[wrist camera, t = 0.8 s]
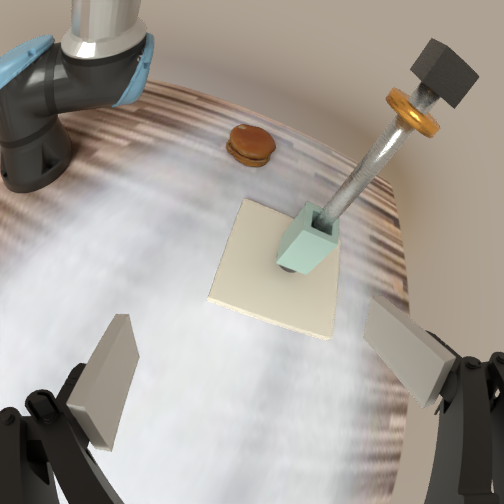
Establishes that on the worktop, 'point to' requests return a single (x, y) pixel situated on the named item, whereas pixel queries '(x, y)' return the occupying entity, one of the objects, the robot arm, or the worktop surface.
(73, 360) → the worktop surface
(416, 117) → the metal rod
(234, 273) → the cream stand base
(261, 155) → the burger
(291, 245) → the teal sleeve
